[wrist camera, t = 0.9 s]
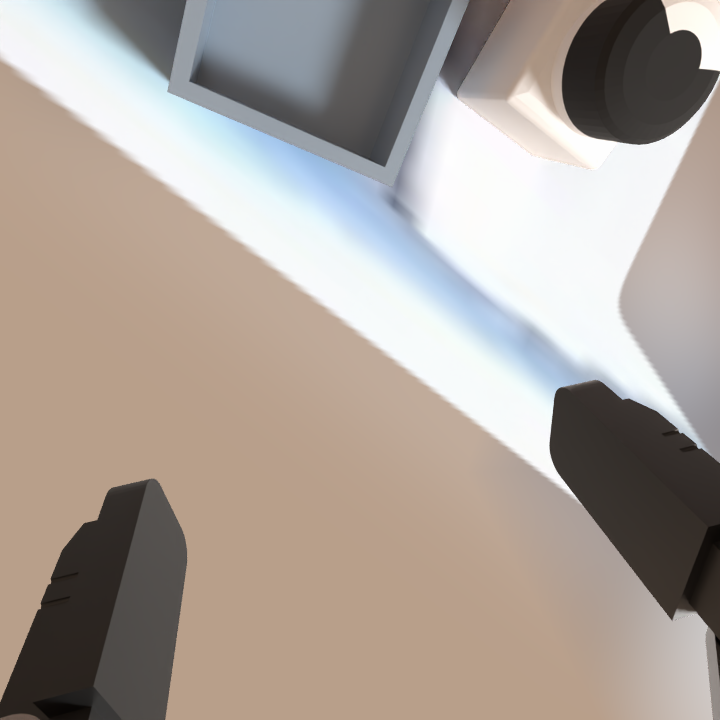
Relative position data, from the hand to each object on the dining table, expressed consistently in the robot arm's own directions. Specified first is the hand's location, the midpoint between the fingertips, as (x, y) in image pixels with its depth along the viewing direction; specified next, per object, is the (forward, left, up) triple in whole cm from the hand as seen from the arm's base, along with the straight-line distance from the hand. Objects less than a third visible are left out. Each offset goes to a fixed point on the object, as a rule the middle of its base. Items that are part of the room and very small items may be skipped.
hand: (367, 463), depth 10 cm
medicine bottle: (-13, +11, -25) cm, 31 cm away
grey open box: (-10, -2, -25) cm, 27 cm away
